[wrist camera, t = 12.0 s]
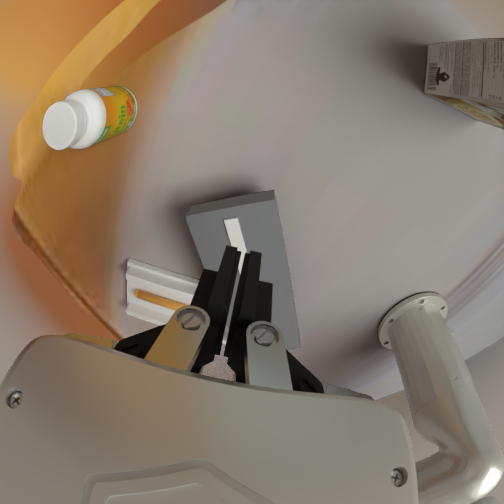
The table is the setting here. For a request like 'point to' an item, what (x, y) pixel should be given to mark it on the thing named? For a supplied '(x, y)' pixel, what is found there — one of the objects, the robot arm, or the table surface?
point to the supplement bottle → (89, 117)
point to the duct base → (158, 293)
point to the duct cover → (249, 248)
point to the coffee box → (469, 77)
